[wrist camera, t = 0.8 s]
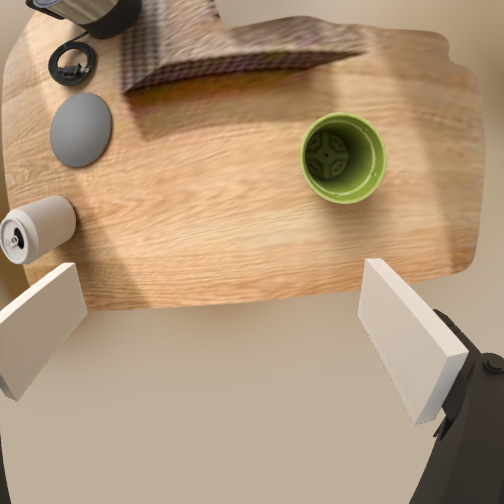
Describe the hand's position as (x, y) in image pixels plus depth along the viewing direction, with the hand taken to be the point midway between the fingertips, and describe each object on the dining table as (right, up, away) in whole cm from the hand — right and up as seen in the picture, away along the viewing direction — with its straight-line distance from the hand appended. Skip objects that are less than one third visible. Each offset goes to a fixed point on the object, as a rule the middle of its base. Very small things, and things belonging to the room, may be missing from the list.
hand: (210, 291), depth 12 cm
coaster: (-23, +19, +21) cm, 37 cm away
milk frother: (-21, +33, +17) cm, 42 cm away
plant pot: (+11, +14, +23) cm, 29 cm away
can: (-28, +7, +26) cm, 39 cm away
